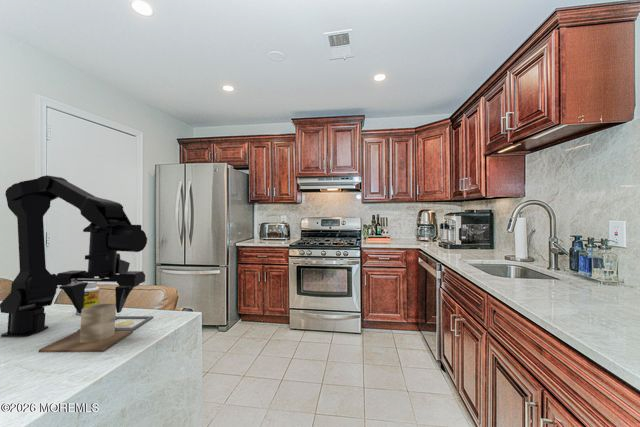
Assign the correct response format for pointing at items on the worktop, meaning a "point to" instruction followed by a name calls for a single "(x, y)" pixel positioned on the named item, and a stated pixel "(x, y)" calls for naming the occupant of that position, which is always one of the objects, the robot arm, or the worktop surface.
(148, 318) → the mat
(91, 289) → the supplement bottle
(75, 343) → the board
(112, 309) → the beige wooden block
